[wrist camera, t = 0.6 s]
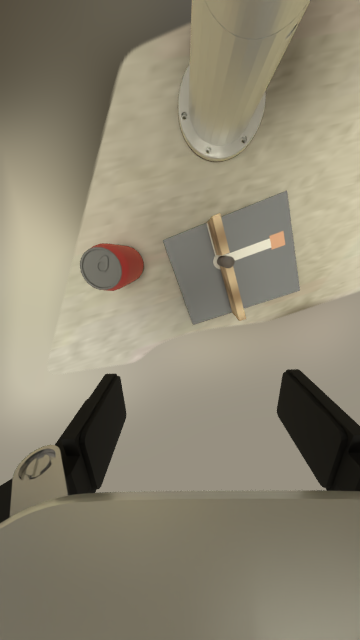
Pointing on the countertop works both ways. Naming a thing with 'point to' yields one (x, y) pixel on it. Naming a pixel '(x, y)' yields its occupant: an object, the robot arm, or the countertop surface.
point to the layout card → (237, 259)
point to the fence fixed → (218, 235)
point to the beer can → (111, 266)
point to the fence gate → (231, 286)
